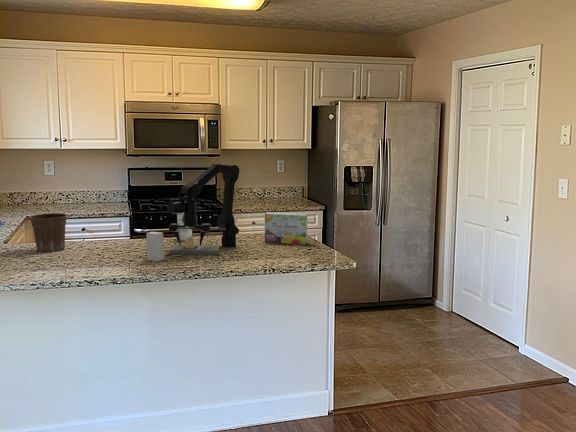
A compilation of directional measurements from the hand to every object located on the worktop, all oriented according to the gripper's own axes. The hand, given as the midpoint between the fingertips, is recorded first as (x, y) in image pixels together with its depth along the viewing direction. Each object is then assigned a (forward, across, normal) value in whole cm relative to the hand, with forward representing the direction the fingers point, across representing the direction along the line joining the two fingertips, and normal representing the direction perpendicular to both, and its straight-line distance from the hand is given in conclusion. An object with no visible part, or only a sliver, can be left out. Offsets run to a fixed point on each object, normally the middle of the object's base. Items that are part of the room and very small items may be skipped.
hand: (190, 245), depth 263 cm
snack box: (+3, -45, -23) cm, 51 cm away
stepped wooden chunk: (+3, 0, 0) cm, 3 cm away
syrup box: (+3, +7, -31) cm, 32 cm away
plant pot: (+3, +66, -5) cm, 66 cm away
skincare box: (+3, +13, +16) cm, 21 cm away
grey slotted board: (+3, -2, 0) cm, 4 cm away
